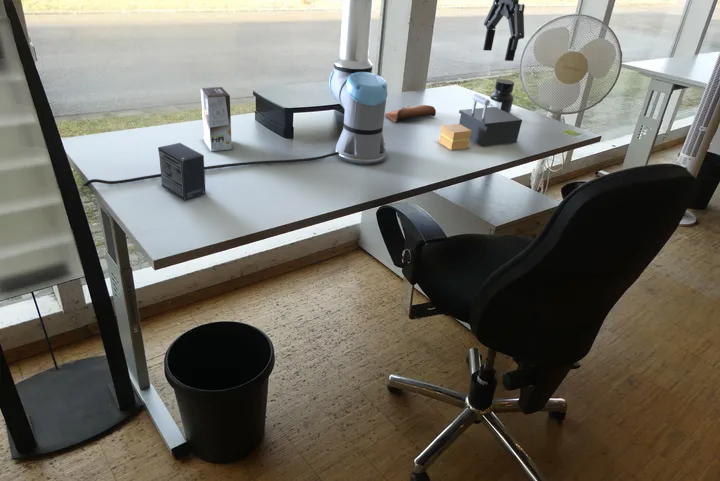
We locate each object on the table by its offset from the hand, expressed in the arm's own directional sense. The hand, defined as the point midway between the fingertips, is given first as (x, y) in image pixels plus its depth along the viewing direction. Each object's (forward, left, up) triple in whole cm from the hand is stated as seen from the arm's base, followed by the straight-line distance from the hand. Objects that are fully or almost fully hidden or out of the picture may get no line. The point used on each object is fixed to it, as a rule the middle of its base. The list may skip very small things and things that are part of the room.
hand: (497, 55), depth 178 cm
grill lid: (+1, -2, -20) cm, 20 cm away
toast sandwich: (-15, -8, -27) cm, 32 cm away
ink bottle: (+21, +24, -27) cm, 42 cm away
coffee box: (-90, -1, -27) cm, 94 cm away
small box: (-101, -30, -27) cm, 109 cm away
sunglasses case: (-19, +20, -27) cm, 39 cm away
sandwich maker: (+1, -2, -27) cm, 27 cm away
